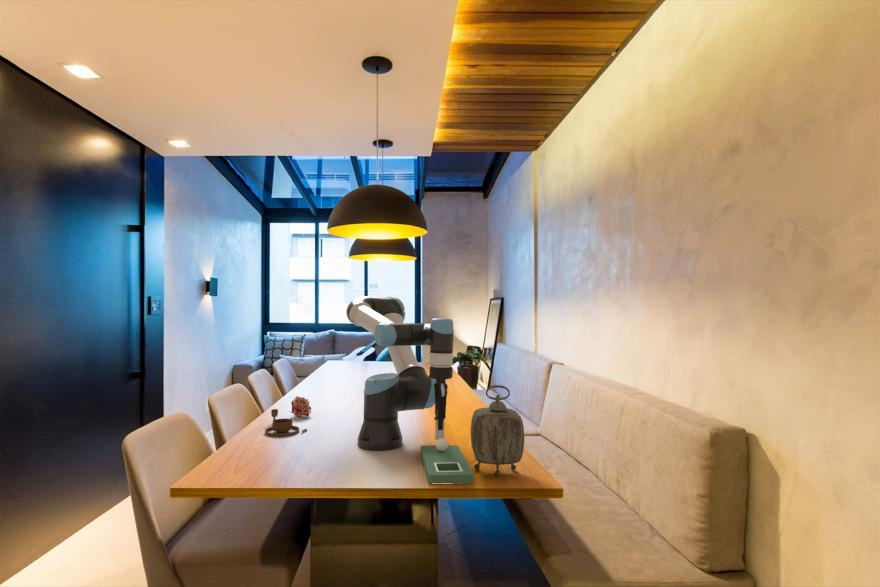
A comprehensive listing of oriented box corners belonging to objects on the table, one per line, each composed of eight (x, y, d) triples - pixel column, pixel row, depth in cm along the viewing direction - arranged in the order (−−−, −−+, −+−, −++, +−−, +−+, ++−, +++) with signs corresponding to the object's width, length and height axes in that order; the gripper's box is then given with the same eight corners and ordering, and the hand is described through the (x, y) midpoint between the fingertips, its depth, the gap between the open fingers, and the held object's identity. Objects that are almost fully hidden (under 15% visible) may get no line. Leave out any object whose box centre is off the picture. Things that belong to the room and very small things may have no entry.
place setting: (251, 438, 161) (251, 421, 161) (270, 423, 181) (270, 408, 181) (301, 439, 161) (301, 422, 162) (314, 424, 181) (315, 409, 182)
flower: (281, 413, 189) (290, 399, 187) (291, 404, 198) (300, 390, 196) (300, 427, 188) (309, 413, 186) (309, 417, 197) (319, 404, 195)
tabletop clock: (518, 468, 135) (520, 383, 136) (525, 480, 126) (526, 388, 127) (469, 467, 135) (471, 382, 136) (472, 479, 126) (474, 387, 126)
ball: (436, 453, 139) (436, 440, 139) (434, 449, 143) (434, 436, 143) (449, 453, 140) (449, 440, 140) (447, 449, 144) (447, 436, 144)
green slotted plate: (428, 484, 121) (428, 475, 121) (420, 453, 147) (420, 445, 147) (473, 483, 122) (473, 474, 122) (457, 453, 148) (457, 445, 148)
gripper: (455, 368, 143) (454, 444, 142) (449, 363, 156) (448, 433, 155) (431, 368, 142) (430, 445, 141) (427, 363, 155) (426, 433, 154)
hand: (439, 439), depth 148 cm, fingers closed
